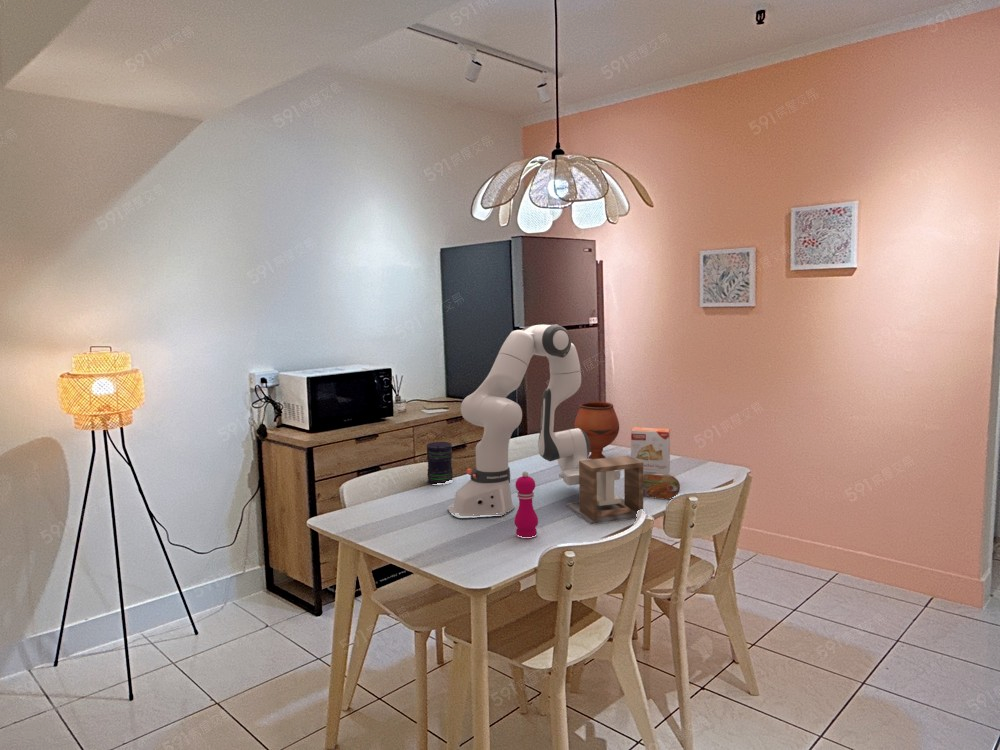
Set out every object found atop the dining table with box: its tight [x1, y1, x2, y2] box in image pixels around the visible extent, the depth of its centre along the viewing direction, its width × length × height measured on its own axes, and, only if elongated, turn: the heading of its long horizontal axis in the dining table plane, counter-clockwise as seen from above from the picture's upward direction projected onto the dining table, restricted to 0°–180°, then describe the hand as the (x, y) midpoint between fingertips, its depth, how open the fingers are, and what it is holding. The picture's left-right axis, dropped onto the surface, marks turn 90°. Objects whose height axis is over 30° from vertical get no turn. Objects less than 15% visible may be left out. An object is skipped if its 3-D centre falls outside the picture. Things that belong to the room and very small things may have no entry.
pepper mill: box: [513, 470, 539, 537], centre depth 207 cm, size 7×7×20 cm
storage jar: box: [426, 441, 454, 486], centre depth 266 cm, size 10×10×15 cm
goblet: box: [573, 400, 620, 459], centre depth 289 cm, size 19×19×25 cm
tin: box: [643, 473, 681, 500], centre depth 241 cm, size 15×3×8 cm, turn 62°
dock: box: [566, 455, 644, 525], centre depth 227 cm, size 20×19×18 cm
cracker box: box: [630, 426, 671, 475], centre depth 257 cm, size 14×6×21 cm, turn 71°
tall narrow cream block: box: [597, 471, 622, 506], centre depth 228 cm, size 8×9×12 cm
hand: (601, 481), depth 230 cm, fingers closed on tall narrow cream block, 3 cm apart
